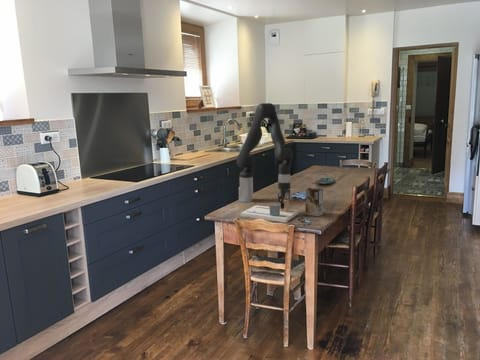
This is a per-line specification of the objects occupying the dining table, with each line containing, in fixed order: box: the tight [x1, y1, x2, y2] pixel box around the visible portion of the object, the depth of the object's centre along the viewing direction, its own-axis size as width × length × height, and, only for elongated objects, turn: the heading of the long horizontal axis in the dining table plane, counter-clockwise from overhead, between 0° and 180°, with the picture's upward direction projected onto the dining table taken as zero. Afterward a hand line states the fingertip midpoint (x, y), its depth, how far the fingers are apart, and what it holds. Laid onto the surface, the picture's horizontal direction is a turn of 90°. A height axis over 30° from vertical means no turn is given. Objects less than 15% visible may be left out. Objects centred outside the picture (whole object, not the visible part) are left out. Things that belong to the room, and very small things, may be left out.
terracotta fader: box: [278, 199, 290, 211], centre depth 256 cm, size 5×4×6 cm
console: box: [240, 205, 300, 223], centre depth 255 cm, size 30×20×2 cm
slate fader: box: [269, 203, 280, 216], centre depth 246 cm, size 5×4×6 cm
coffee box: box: [305, 187, 324, 217], centre depth 253 cm, size 9×6×16 cm
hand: (284, 207), depth 256 cm, fingers open, 5 cm apart
